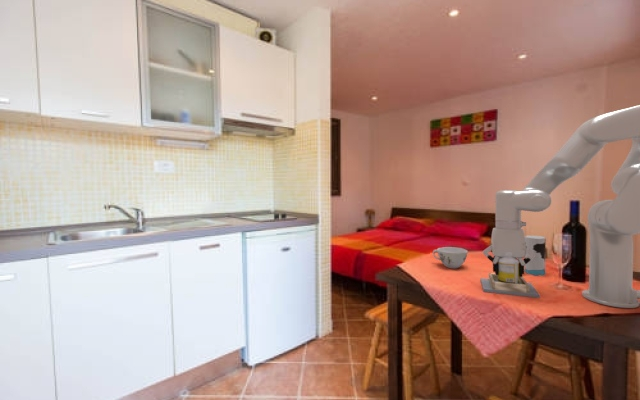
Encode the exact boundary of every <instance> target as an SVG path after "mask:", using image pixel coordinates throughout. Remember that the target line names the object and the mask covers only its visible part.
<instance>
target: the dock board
mask: <svg viewBox="0 0 640 400" xmlns="http://www.w3.org/2000/svg"><path fill="white" fill-rule="evenodd" d="M479 281H480V284H481V287H482V290H483V292H484V293H492V294H500V295H508V296H509V295H510V296H520V297H528V298H537V299H539V298H541V295H540V293H539V292H538V291H537V289H536V288H535V286H533V284H532V283H531V282H527V283H528V285H529V293H523V292H514V291H504V290H495V289H492V287H491V284H490V282H489V278H483V277H481V278H480V280H479ZM495 282H498V281H495ZM519 284H520V283H519Z"/></svg>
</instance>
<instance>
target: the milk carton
mask: <svg viewBox="0 0 640 400" xmlns="http://www.w3.org/2000/svg"><path fill="white" fill-rule="evenodd" d="M524 236H525V243H526V248H528V249H529V250H530V251H531V252H532V253H534V254H535V255H536V256H535V257H534V258H533V259H531V260H530V261H529V262H528V263H527V264H526V265H525V266H524V273H525V272H526V273H525V274H527V273H528V274H527V275H532V276H537V275H541V276H542V275H543V276H545V275H546V241H547V239H546V237H545V236H540V235H524ZM528 255H529V254H528V253H527V252H526V256H525V257H524V258H526V257H527V256H528Z"/></svg>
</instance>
